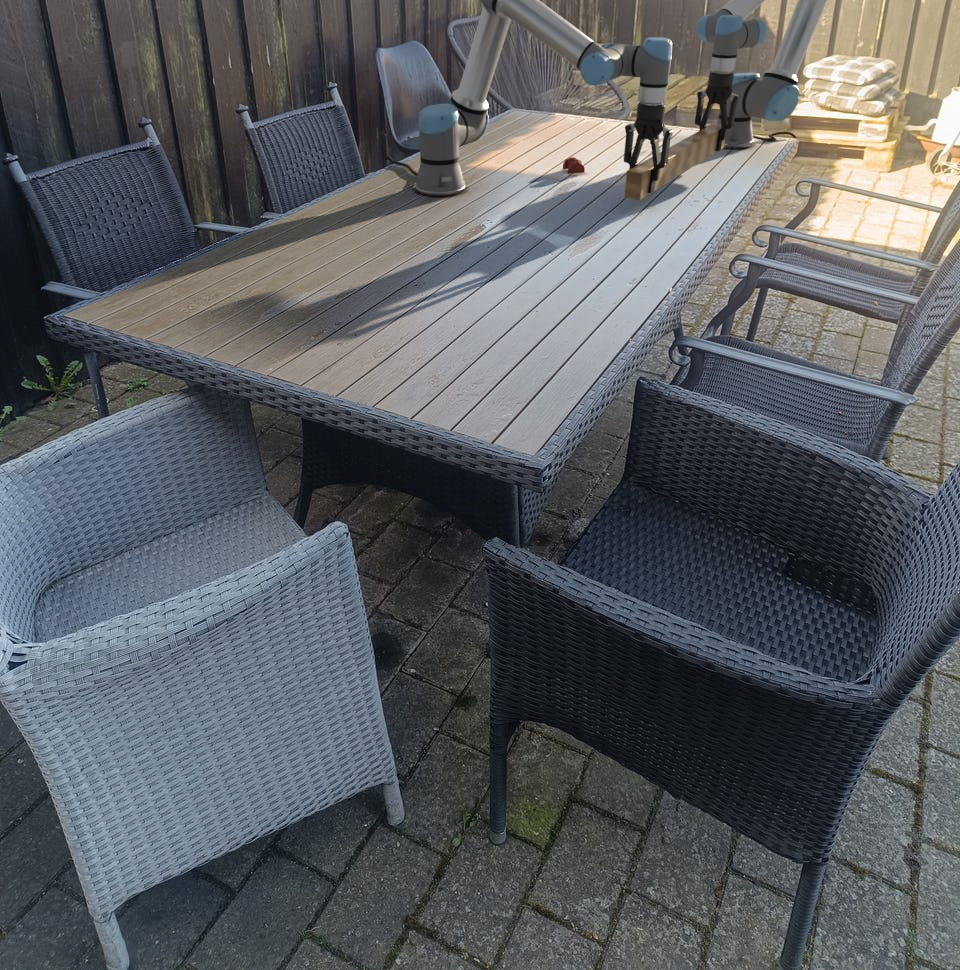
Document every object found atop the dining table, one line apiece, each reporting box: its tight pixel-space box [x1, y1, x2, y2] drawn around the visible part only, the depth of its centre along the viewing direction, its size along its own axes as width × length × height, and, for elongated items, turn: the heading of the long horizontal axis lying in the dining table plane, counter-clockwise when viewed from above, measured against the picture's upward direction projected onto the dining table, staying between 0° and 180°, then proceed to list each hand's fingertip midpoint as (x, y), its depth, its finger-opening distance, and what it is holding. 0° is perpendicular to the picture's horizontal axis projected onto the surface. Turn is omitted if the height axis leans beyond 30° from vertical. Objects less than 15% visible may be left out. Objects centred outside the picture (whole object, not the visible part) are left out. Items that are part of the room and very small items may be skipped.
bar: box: [623, 122, 725, 201], centre depth 257 cm, size 68×5×7 cm, turn 147°
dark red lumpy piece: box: [562, 156, 586, 175], centre depth 273 cm, size 6×4×8 cm
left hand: (642, 190), depth 240 cm, fingers closed on bar, 5 cm apart
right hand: (710, 149), depth 278 cm, fingers closed on bar, 5 cm apart
